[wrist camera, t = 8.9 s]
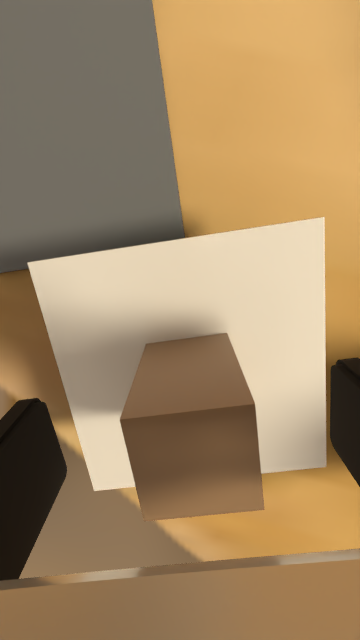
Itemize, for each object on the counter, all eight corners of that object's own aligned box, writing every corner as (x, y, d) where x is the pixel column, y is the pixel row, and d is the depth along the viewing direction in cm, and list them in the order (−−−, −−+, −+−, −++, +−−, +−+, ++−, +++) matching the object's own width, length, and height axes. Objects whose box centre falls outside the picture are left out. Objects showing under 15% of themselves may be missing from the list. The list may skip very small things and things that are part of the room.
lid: (36, 260, 13) (-93, 288, 7) (315, 217, 12) (440, 207, 6) (98, 478, 16) (48, 623, 10) (319, 455, 16) (402, 595, 10)
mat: (-115, 13, 15) (-123, 8, 14) (146, -42, 14) (145, -50, 13) (-24, 276, 18) (-28, 277, 18) (185, 244, 18) (185, 244, 17)
